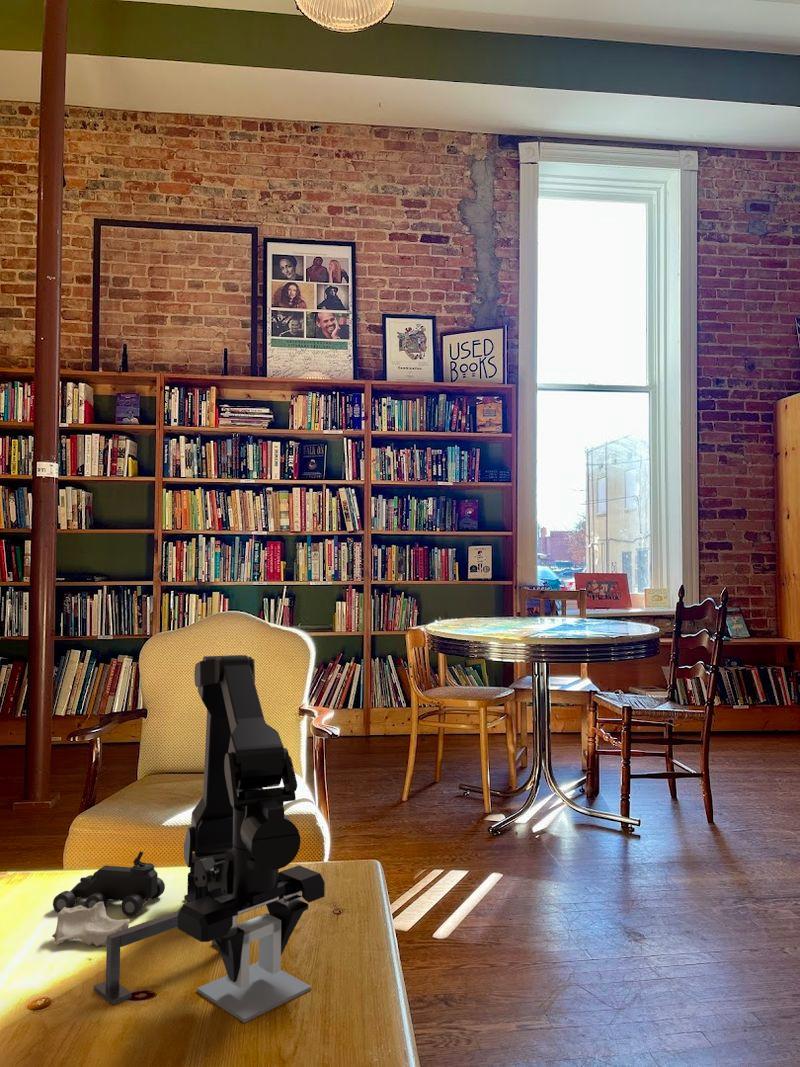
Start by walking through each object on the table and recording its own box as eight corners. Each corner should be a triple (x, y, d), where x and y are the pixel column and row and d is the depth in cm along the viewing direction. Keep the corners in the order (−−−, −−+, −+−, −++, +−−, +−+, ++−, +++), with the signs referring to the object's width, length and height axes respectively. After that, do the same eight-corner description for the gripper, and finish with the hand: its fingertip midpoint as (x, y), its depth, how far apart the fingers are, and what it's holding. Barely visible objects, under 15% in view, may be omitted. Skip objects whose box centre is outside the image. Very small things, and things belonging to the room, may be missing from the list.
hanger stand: (226, 938, 109) (227, 888, 110) (247, 950, 106) (247, 897, 106) (93, 990, 95) (95, 932, 96) (112, 1005, 92) (114, 945, 92)
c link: (280, 970, 97) (281, 920, 97) (240, 989, 92) (241, 935, 93) (266, 962, 99) (266, 913, 99) (226, 980, 94) (227, 928, 95)
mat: (262, 962, 102) (262, 959, 102) (311, 989, 95) (311, 986, 95) (196, 991, 95) (196, 988, 95) (244, 1022, 88) (244, 1019, 88)
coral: (125, 948, 107) (126, 915, 107) (46, 953, 105) (47, 919, 106) (134, 930, 112) (135, 899, 113) (59, 934, 111) (60, 902, 111)
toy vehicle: (140, 921, 116) (141, 861, 116) (50, 913, 119) (51, 854, 119) (166, 899, 124) (167, 843, 125) (82, 892, 127) (83, 837, 127)
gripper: (276, 813, 109) (274, 927, 108) (155, 846, 95) (152, 976, 94) (328, 831, 101) (327, 953, 100) (204, 868, 88) (202, 1011, 87)
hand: (254, 971), depth 95 cm, fingers closed on c link, 6 cm apart
